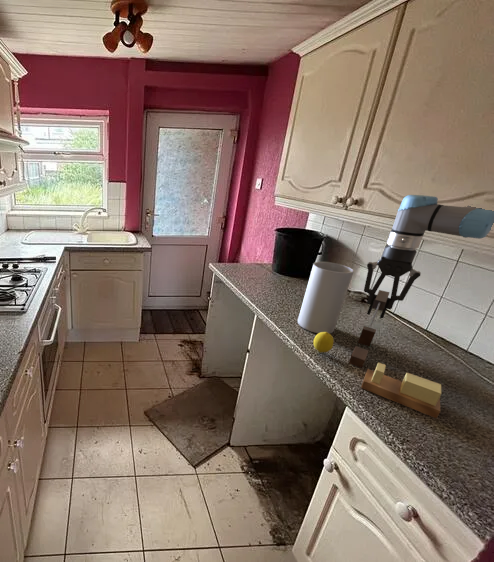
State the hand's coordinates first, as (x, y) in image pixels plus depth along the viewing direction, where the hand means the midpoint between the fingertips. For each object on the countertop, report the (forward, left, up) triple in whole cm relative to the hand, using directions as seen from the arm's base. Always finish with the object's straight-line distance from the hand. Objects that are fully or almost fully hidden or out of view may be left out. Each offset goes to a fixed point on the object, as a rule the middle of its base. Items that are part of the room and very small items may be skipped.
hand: (375, 314), depth 104 cm
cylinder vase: (+16, -5, -14) cm, 22 cm away
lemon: (+10, +14, -14) cm, 22 cm away
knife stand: (0, +4, -14) cm, 14 cm away
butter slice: (-5, +22, -11) cm, 25 cm away
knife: (0, +4, +1) cm, 4 cm away
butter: (-14, +22, -11) cm, 28 cm away
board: (-11, +22, -14) cm, 28 cm away
